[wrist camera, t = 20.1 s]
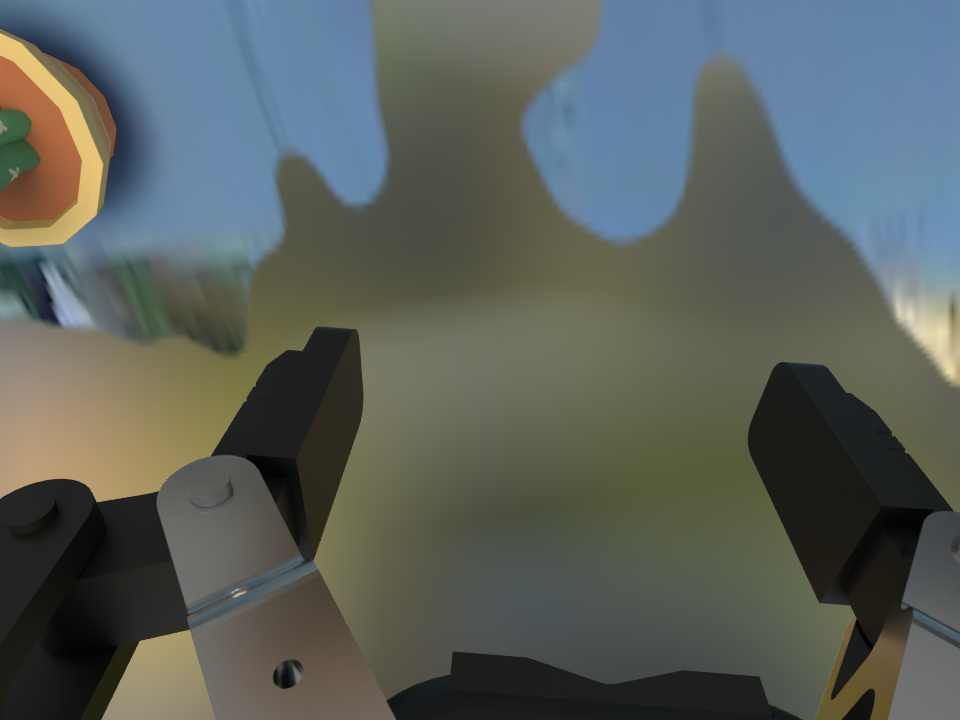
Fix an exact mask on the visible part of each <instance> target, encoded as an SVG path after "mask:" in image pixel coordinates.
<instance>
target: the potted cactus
mask: <svg viewBox="0 0 960 720" xmlns="http://www.w3.org/2000/svg"><path fill="white" fill-rule="evenodd" d="M116 131H117V128H116V125H115V122H114V120H113V117H112V115H111V112H110V109H109V107H108V104H107V102H106V99H105V97H104V95H103V94H102V93H101V92H100V91H99V90H98V89H97V88H96V87H95V86H94V85H93V84H92V83H91V82H90V81H89V79H88V78H87V77H86V76H85V75H84V74H83V73H82V72H81V71H80V70H79V69H78V68H76V67H74V66H72V65H70V64H68V63H65V62H63V61H61V60H59V59H57V58H55V57H53V56H50V55H48V54H46V53H42V52H41V51H40V50H39V49H38V48H37V47H36V46H35V45H34V44H32V43H30V42H28V41H25V40H23V39H21V38H19V37H17V36H15V35H13V34H10V33H8V32H6V31H4V30H2V29H0V243H2V244H5V245H8V246H10V247H18V246H36V245H54V244H63V243H65V242H66V241H67V240H68V239H69V238H70V237H72V236H73V235H74V234H75V233H76V232H77V231H79V230H80V229H81V228H82V227H83V226H84V225H86V224H87V223H88V222H89V221H90V220H91V219H93V218H94V217H95V216H96V215H97V214H98V212H99V211H100V209H101V208H102V207H103V205H104V198H105V191H106V183H107V176H108V169H109V161H110V158H111V157H112V156H113V153H114V146H115V139H116Z"/></svg>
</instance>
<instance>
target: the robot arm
mask: <svg viewBox="0 0 960 720" xmlns="http://www.w3.org/2000/svg"><path fill="white" fill-rule="evenodd" d="M362 410H363V383H362V370H361V356H360V342H359V335H358V332H357V330H356V329H345V328H331V327H316V328H315V330H314V331H313V334H312V335H311V337H310V339H309V341H308V342H307V344H306V346H305V348H304V350H303V351H295V350H287V351H285V352H284V353H283V354H281V355H280V356H279V357H277V358H276V359H274V360H273V361H272V362H270V363H269V364H268V365H267V366H266V367H265V369H264V371H263V372H262V374H261V376H260V377H259V379H258V381H257V382H256V387H253V389H252V390H251V392H250V394H249V395H248V397H247V401H246V402H244V403H243V405H242V406H241V408H240V410H239V411H238V413H237V414H236V416H235V418H234V420H233V421H232V423H231V424H230V426H229V427H228V429H227V431H226V432H225V434H224V436H223V437H222V439H221V441H220V442H219V444H218V445H217V447H216V449H215V450H214V452H213V453H212V455H211V457H206V458H203V459H199V460H197V461H194V462H192V463H190V464H188V465H186V466H184V467H182V468H181V469H179V470H178V471H176V472H175V473H174V474H172V475H171V476H170V477H169V478H168V479H167V481H166V482H165V483H164V484H163V486H162V487H161V489H160V491H158V492H154V493H150V494H144V495H138V496H132V497H127V498H121V499H115V500H108V501H103V502H96V500H95V498H94V496H93V493H92V492H91V490H90V488H88V487H87V486H86V485H85V484H83V483H81V482H78V481H75V480H70V479H53V480H45V481H41V482H37V483H34V484H30V485H27V486H24V487H22V488H20V489H17V490H15V491H13V492H11V493H10V494H7V495H6V496H4V497H2V498H1V499H0V720H101V719H102V717H103V715H104V713H105V711H106V709H107V707H108V705H109V702H110V700H111V699H112V697H113V694H114V692H115V690H116V688H117V686H118V684H119V682H120V680H121V678H122V676H123V674H124V672H125V670H126V668H127V665H128V664H129V662H130V660H131V658H132V656H133V653H134V651H135V649H136V647H137V645H138V643H139V641H141V640H145V639H150V638H155V637H159V636H163V635H167V634H172V633H177V632H181V631H186V630H190V632H191V635H192V639H193V642H194V646H195V649H196V652H197V656H198V659H199V663H200V666H201V669H202V673H203V676H204V680H205V683H206V687H207V690H208V693H209V697H210V701H211V704H212V707H213V711H214V714H215V718H216V720H802V719H800V718H798V717H797V716H795V715H793V714H791V713H789V712H786V711H784V710H782V709H780V708H778V707H776V706H773V705H769V704H768V701H767V698H766V695H765V692H764V689H763V686H762V683H761V680H760V677H758V676H746V675H733V674H721V673H709V672H697V671H678V672H674V673H669V674H663V675H658V676H653V677H648V678H643V679H638V680H633V681H628V682H623V683H618V684H604V683H600V682H597V681H594V680H591V679H588V678H585V677H582V676H579V675H576V674H574V673H571V672H568V671H564V670H562V669H559V668H556V667H553V666H550V665H547V664H544V663H541V662H539V661H536V660H533V659H530V658H524V657H513V656H501V655H488V654H476V653H464V652H453V654H452V665H451V675H446V676H441V677H437V678H433V679H430V680H427V681H424V682H421V683H418V684H416V685H414V686H411V687H410V688H407V689H405V690H403V691H401V692H399V693H398V694H396V695H395V696H393V697H391V698H390V699H388V700H387V701H386V700H385V697H384V695H383V694H382V692H381V690H380V688H379V686H378V684H377V682H376V680H375V678H374V676H373V674H372V672H371V670H370V668H369V666H368V665H367V663H366V661H365V659H364V657H363V655H362V653H361V651H360V649H359V647H358V645H357V643H356V641H355V639H354V637H353V635H352V634H351V632H350V630H349V628H348V626H347V624H346V622H345V620H344V618H343V616H342V614H341V612H340V610H339V608H338V606H337V605H336V603H335V601H334V599H333V597H332V595H331V593H330V591H329V589H328V587H327V585H326V583H325V582H324V579H323V577H322V576H321V574H320V572H319V570H318V568H317V567H316V565H315V564H314V562H313V561H312V560H314V558H315V555H316V552H317V549H318V546H319V543H320V540H321V537H322V534H323V531H324V528H325V525H326V522H327V520H328V516H329V514H330V511H331V508H332V505H333V502H334V499H335V496H336V493H337V490H338V487H339V484H340V481H341V478H342V475H343V472H344V469H345V466H346V464H347V461H348V458H349V455H350V451H351V449H352V446H353V443H354V440H355V437H356V434H357V431H358V428H359V425H360V422H361V417H362ZM748 447H749V451H750V455H751V457H752V459H753V461H754V464H755V466H756V468H757V470H758V472H759V475H760V477H761V479H762V481H763V483H764V485H765V487H766V490H767V492H768V494H769V496H770V498H771V500H772V502H773V504H774V507H775V509H776V511H777V513H778V515H779V517H780V520H781V522H782V524H783V526H784V528H785V530H786V533H787V534H788V537H789V539H790V541H791V543H792V545H793V547H794V550H795V552H796V554H797V556H798V558H799V560H800V562H801V565H802V566H803V569H804V571H805V573H806V576H807V577H808V580H809V582H810V584H811V586H812V588H813V591H814V593H815V595H816V597H817V599H818V601H819V603H826V604H840V605H850V606H851V608H852V610H853V611H854V614H855V617H854V618H853V619H852V621H851V622H850V624H849V625H848V627H847V629H846V632H845V634H844V637H843V640H842V643H841V646H840V649H839V652H838V655H837V658H836V660H835V663H834V667H833V669H832V672H831V675H830V678H829V681H828V683H827V686H826V689H825V692H824V695H823V698H822V701H821V704H820V706H819V710H818V712H817V714H816V716H815V718H814V720H960V513H959V512H954V511H953V509H952V508H951V507H950V506H949V504H948V503H947V502H946V501H945V499H944V498H943V497H942V495H941V494H940V493H939V492H938V490H937V489H936V488H935V486H934V485H933V484H932V483H931V481H930V480H929V479H928V478H927V476H926V475H925V474H924V472H923V471H922V470H921V469H920V468H919V466H918V465H917V464H916V462H915V461H914V460H913V459H912V457H911V456H910V455H909V454H906V453H905V448H904V447H903V446H902V444H901V443H900V442H899V441H898V439H897V438H896V437H895V436H892V432H891V430H890V429H889V428H888V427H887V425H886V424H885V423H884V422H883V420H882V419H881V418H880V416H879V415H878V414H877V413H876V412H875V411H874V410H873V409H871V408H870V407H869V406H867V405H866V404H864V403H863V402H862V401H861V400H859V399H858V398H856V397H855V396H854V395H852V394H851V393H846V392H845V390H844V389H843V388H842V387H841V385H840V384H839V382H838V381H837V380H836V378H835V377H834V376H833V375H832V373H831V372H830V370H829V369H828V368H827V367H825V366H824V365H817V364H803V363H789V362H780V363H778V364H777V365H776V366H775V367H774V369H773V371H772V373H771V375H770V377H769V380H768V382H767V385H766V387H765V389H764V392H763V394H762V397H761V399H760V402H759V404H758V406H757V409H756V411H755V413H754V416H753V419H752V421H751V423H750V427H749V432H748Z"/></svg>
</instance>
